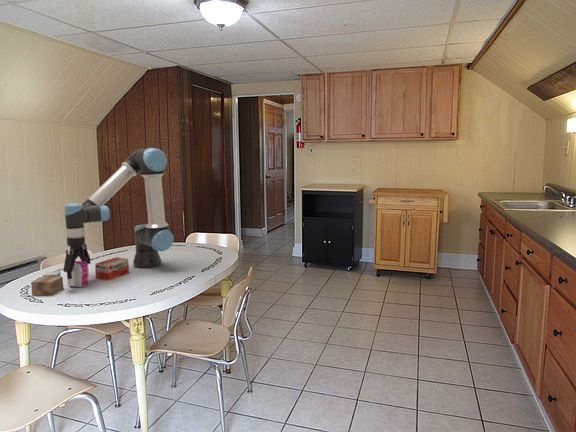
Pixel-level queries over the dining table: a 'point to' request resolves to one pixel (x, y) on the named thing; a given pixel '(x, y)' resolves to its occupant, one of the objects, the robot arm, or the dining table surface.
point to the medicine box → (112, 268)
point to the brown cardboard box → (47, 285)
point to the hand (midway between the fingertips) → (78, 281)
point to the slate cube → (52, 274)
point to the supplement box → (80, 274)
